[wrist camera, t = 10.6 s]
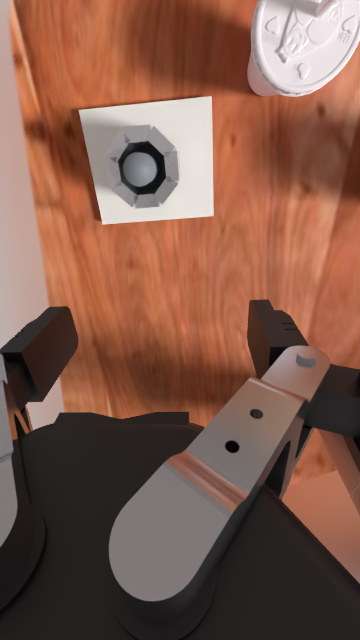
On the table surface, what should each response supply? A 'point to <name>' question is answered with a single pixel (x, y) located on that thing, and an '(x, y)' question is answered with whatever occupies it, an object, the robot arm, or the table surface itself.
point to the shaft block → (154, 157)
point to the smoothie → (300, 44)
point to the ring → (127, 145)
